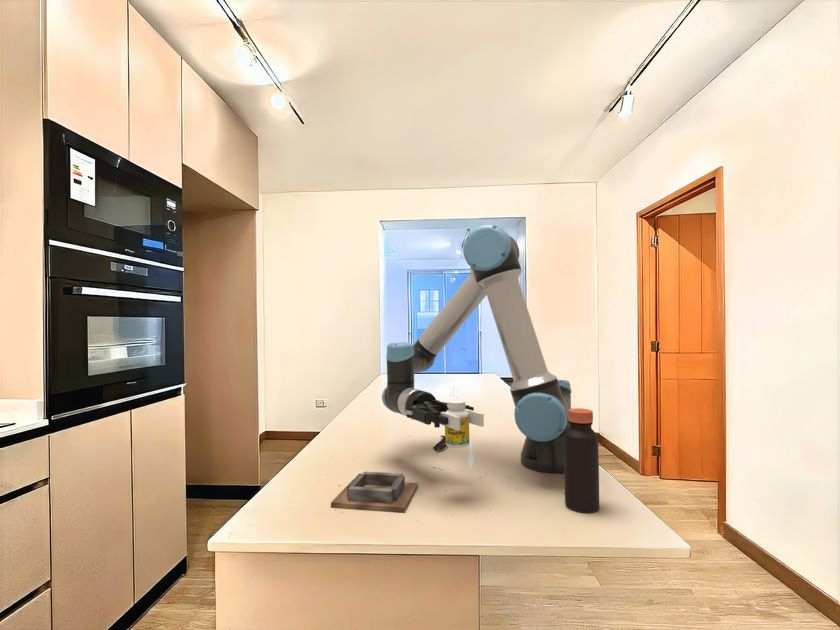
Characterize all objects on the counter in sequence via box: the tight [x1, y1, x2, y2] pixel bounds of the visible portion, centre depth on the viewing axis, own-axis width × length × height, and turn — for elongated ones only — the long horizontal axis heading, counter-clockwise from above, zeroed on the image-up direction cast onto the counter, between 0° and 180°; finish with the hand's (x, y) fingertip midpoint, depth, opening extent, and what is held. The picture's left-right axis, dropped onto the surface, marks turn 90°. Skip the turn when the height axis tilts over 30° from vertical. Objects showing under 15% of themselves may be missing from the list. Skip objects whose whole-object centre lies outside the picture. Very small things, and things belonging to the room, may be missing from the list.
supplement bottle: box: [444, 399, 470, 449], centre depth 97 cm, size 5×5×10 cm
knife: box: [432, 434, 448, 453], centre depth 142 cm, size 25×6×1 cm, turn 155°
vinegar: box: [563, 407, 600, 514], centre depth 92 cm, size 7×7×20 cm
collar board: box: [330, 471, 419, 514], centre depth 98 cm, size 16×14×4 cm
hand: (470, 421), depth 92 cm, fingers closed on supplement bottle, 5 cm apart
